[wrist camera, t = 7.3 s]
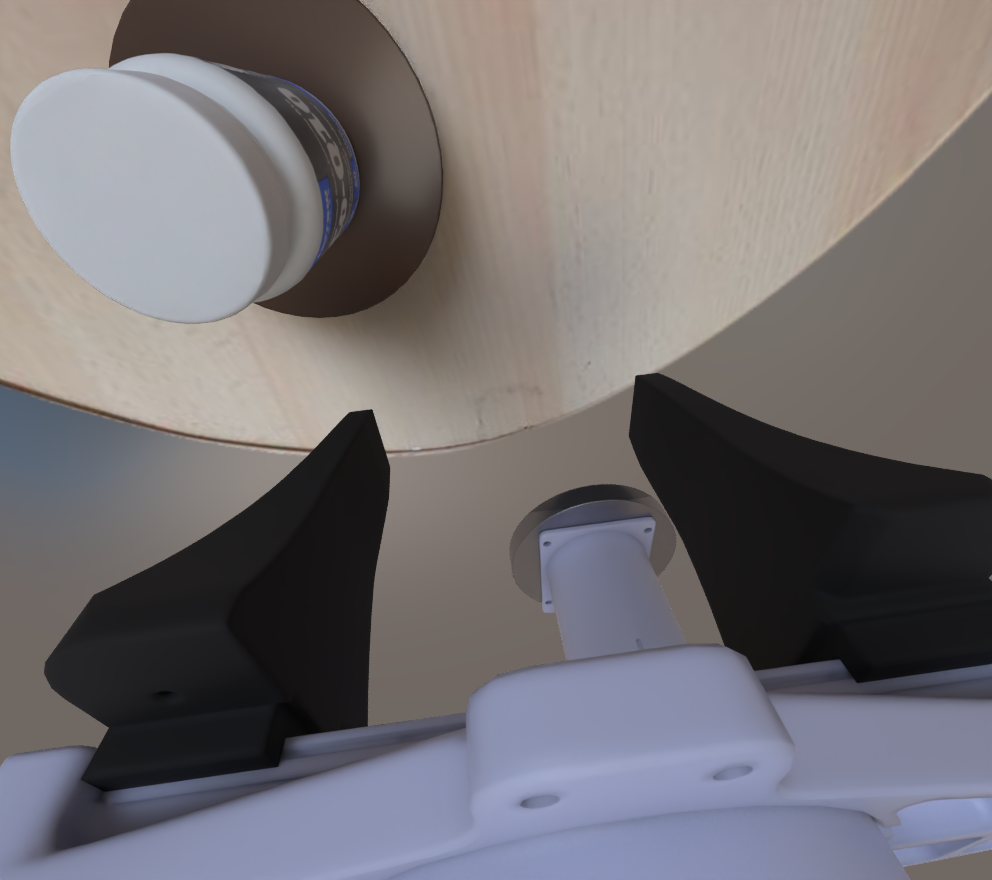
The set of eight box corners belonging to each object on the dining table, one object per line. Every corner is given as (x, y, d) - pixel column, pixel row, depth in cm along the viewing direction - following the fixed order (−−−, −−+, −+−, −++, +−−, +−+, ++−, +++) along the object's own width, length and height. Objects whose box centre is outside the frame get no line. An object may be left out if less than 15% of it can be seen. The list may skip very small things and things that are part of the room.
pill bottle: (380, 232, 16) (334, 322, 9) (252, 257, 16) (112, 365, 9) (329, 59, 13) (206, 2, 6) (173, 91, 13) (-117, 68, 6)
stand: (459, 282, 20) (461, 302, 18) (232, 310, 19) (208, 332, 17) (414, -48, 13) (409, -75, 11) (83, -13, 13) (20, -35, 11)
